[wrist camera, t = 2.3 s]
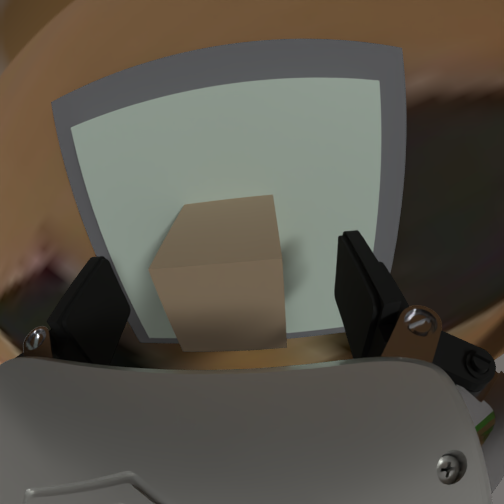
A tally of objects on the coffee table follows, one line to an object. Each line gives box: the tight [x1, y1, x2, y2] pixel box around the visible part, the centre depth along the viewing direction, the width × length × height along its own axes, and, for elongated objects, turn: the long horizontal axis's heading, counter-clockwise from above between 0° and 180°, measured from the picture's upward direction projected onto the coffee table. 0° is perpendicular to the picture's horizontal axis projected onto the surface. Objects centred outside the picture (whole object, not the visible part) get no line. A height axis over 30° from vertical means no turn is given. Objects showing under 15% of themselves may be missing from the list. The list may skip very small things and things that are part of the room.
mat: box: [51, 39, 406, 343], centre depth 14 cm, size 18×18×1 cm
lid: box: [71, 78, 381, 352], centre depth 12 cm, size 14×14×6 cm
